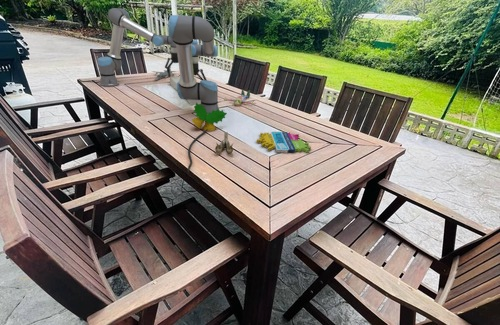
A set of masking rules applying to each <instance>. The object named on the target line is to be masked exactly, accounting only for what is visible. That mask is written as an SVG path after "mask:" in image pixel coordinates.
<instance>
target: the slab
mask: <svg viewBox="0 0 500 325" xmlns="http://www.w3.org/2000/svg"><path fill="white" fill-rule="evenodd" d="M180 78H181V77H180V76H169V84H170V86H171V87H172V88H174V89H175V91H177V83H178V82H179V79H180ZM186 101H187V103H188V104H189V105H190V106H196V102H197V103H198V104H201V100H186Z"/></svg>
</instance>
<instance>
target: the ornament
mask: <svg viewBox="0 0 500 325" xmlns="http://www.w3.org/2000/svg"><path fill="white" fill-rule="evenodd" d="M219 110H220V108H219V109H217V110H216V111H214V110H212V112H211V113H208V112H206V109H204V106H201V104H198V103H197V102H196V105H193V112H194V113H195V118H192V119H191V122H192V123H193V125H195V127H197V128H198V129H202V130H203V131H205V130H207V131H206V132H212V131H213V132H214V131H215V130H216V126H215V124H218V123H219V122H223V119H226V115H227V114H228V113H227V112H224V110H223V109H221V110H220V111H219ZM207 113H208V115H207ZM214 123H215V124H214Z"/></svg>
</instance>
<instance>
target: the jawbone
mask: <svg viewBox="0 0 500 325" xmlns="http://www.w3.org/2000/svg"><path fill="white" fill-rule="evenodd" d="M223 135H224V136H223V140H222V139H221V142H220V144H218V142H215V144H216V146H215V148H214V149H215V152H214V154H215V155H217V156H218V155H220V153H221V152H223V151H224V150H226V152H227V153H228V155H229V156H233V155H234V154H233V153H234V148H233V144H234V143H230V140H228V139H229V138H228V137H229V136H228V135H229V133H228V131H226V132H224V134H223Z"/></svg>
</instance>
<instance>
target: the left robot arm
mask: <svg viewBox="0 0 500 325" xmlns="http://www.w3.org/2000/svg"><path fill="white" fill-rule="evenodd" d="M107 12H108V13H107V16H108V20H110V22H111V25H112V32H111V38H110V39H111V40H110V46H109V52H107V54H106V56H101V57H98V58H97V65H98V69H99V74H100V81H96V80H81V79H80V78H78V80H77V81H78V82H79V81H80V82H82V83H86V82H87V83H89V82H90V83H91V82H92V83H96V84H98V83H99V85H100V86H101V87H115V86H119V83H120V82H119V81H118V78H117V77H116V75H115V74H116V73H115V71H118V70H120V69H121V68H122V66H123V61H122V57H121V50H122V45H123V38H124V32H125V29H127V30H128V31H130V32H132V33H134V34H136V35H138V36H140V37H141V38H144V39H145V40H147V41H149V42H151V43H152V44H153V45H154V46H155V47H161V46H164V45H167V46H168V45H169V46H170V57H167V60H166V63H165V65H164V69H165V70H166V71H167V72H168V76H169V77H171V75H170V71H169V68H170V66H171V67H172V65H173V64H179V63H178V55H177V48H176V44H174V43H173V39H172V38H169V35H164V34H157V33H155V32H153V31H151V30H150V29H147V28H146V27H144V26H142V25H140V24H138V23H137V22H135V21H133V20H131V17H130V14H129V12H128V11H127V10H126V9H124V8H121V7H119V8H118V7H112V8H110V9H109V10H108V11H107ZM170 69H171V68H170Z"/></svg>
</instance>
